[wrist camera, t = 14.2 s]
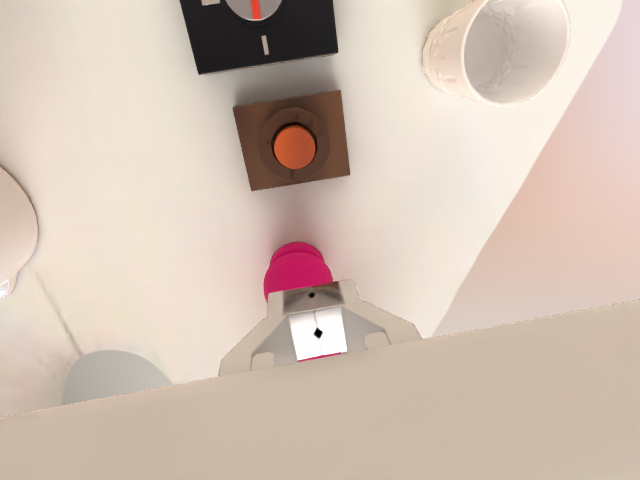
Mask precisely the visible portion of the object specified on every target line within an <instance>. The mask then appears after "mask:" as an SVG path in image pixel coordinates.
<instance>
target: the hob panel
mask: <svg viewBox="0 0 640 480" xmlns="http://www.w3.org/2000/svg"><path fill="white" fill-rule="evenodd" d="M180 3H181V7H182V11H183V15H184V19H185V23H186V27H187V31H188V35H189V39H190V43H191V47H192V51H193V55H194V59H195V63H196V67H197V71H198V74H199V75H209V74H215V73H222V72H228V71H234V70H241V69H247V68H253V67H260V66H266V65H273V64H279V63H285V62H292V61H298V60H305V59H311V58H317V57H324V56H330V55H335V54H337V53H338V44H337V35H336V26H335V17H334V8H333V0H284V3H283V7H282V10H281V12H280V14H279V15H278V17H277V18H276V19H275V20H274V21H273V22H271V23H270V24H268V25H265V26H252V25H249V24H246V23H245V22H243V21H242V20H241V19H239V18H238V17H237V15H236V14H235V13H234V12H233V10H232V9H231V8H230V7H229V5H228V4H227V2H226V0H180Z"/></svg>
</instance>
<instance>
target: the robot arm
mask: <svg viewBox="0 0 640 480" xmlns="http://www.w3.org/2000/svg"><path fill="white" fill-rule="evenodd" d="M37 240H38V223H37V218H36V215H35V212H34V209H33V207H32V204H31V202H30V200H29V199H28V197H27V195H26V194H25V192H24V191H23V189H22V188H21V187H20V186H19V184H18V183H17V182H16V181H15V180H14V179H13V178H12V177H11V176H10V175H9V174H8V173H7V172H6V171H5V170H4V169H2V168H1V167H0V298H3V297H5V296H7V295H9V294H10V293H11V292H12V291H13V289H14V287H15V283H16V278H17V273H18V272H19V270H20V269H21V268H22V267H23V265H24V264H25V263H26V262H27V261H28V260H29V259H30V257H31V256H32V254H33V252H34V250H35V248H36V244H37ZM346 351H347V353H345V354H340V355H334V356H329V357H323V358H318V359H312V360H307V361H302V362H298V360H302V359H307V358H311V357H316V356H321V355H327V354H333V353H340V352H346ZM0 480H640V299H639V300H633V301H628V302H622V303H617V304H612V305H606V306H601V307H595V308H590V309H584V310H579V311H574V312H568V313H563V314H557V315H552V316H546V317H541V318H536V319H530V320H525V321H519V322H514V323H508V324H503V325H497V326H492V327H486V328H481V329H476V330H470V331H465V332H459V333H454V334H449V335H443V336H438V337H432V338H427V339H422V338H421V336H420V334H419V332H418V331H417V329H416V327H415V325H414V324H412V323H410V322H408V321H406V320H403V319H401V318H399V317H397V316H395V315H393V314H391V313H389V312H387V311H385V310H382V309H380V308H378V307H376V306H374V305H372V304H370V303H368V302H366V301H362V302H361V300H360V298H359V295H358V292H357V290H356V287H355V284H354V282H353V279H346V280H342V281H336V282H331V283H326V284H321V285H316V286H310V287H304V288H297V289H291V290H285V291H278V292H273V293H269V295H268V307H267V319H263V320H262V321H261V322H260V323H259V324H258V325H257V326H256V327H255V328H254V329H252V330H251V331H250V332H249V333H248V334H247V335H246V336H245V337H244V338H243V339H242V340H241V341H240V342H239V343H238V344H237V345H236V346H235V347H234V348H233V349H232V350H231V351H230V352H229V353H228V354H227V355H226V356H225V357H224V358H223V359H222V360H221V365H220V369H219V374H218V377H214V378H209V379H203V380H198V381H193V382H187V383H182V384H176V385H171V386H166V387H160V388H155V389H149V390H144V391H139V392H133V393H128V394H122V395H117V396H112V397H106V398H101V399H95V400H90V401H84V402H79V403H73V404H68V405H62V406H57V407H51V408H46V409H40V410H35V411H29V412H24V413H19V414H13V415H8V416H2V417H0Z"/></svg>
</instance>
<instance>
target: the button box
mask: <svg viewBox="0 0 640 480" xmlns="http://www.w3.org/2000/svg"><path fill="white" fill-rule="evenodd" d="M233 112H234V116H235V121H236V125H237V130H238V134H239V138H240V143H241V147H242V152H243V156H244V161H245V165H246V169H247V174H248V178H249V183H250V187H251V191H256V190H262V189H268V188H274V187H281V186H287V185H293V184H299V183H305V182H311V181H317V180H324V179H330V178H336V177H342V176H348V175H350V168H349V160H348V151H347V142H346V133H345V124H344V115H343V106H342V97H341V90H333V91H326V92H320V93H314V94H307V95H301V96H295V97H288V98H282V99H276V100H269V101H263V102H257V103H251V104H244V105H238V106H234V107H233ZM291 125H297V126H301V127H303V128H305V129H306V130H308V131H309V133H310V134H311V136H312V138H313V140H314V143H315V154H314V157H313V159H312V160H311V162H310V163H309V164H308V165H306V166H305V167H302V168H299V169H291V168H288V167H285V166H284V165H282V164H281V163H280V162H279V161H278V159H277V157H276V155H275V151H274V145H275V140H276V137H277V135H278V133H279V132H280V131H281V130H282V129H283V128H285V127H287V126H291Z"/></svg>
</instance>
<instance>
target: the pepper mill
mask: <svg viewBox="0 0 640 480" xmlns="http://www.w3.org/2000/svg"><path fill="white" fill-rule="evenodd" d="M331 282H333V278H332V275H331V272H330V270H329V268H328V267H327V265H326V264H325V263H324V259H323V257H322V255H321V253H320V252H319V251H318V250H317V249H316V248H315V247H313V246H311V245H309V244H307V243H302V242H294V243H289V244H286V245H284V246H282V247H281V248H279V249H278V250H277V251H276V252H275V254H274V255H273V257H272V259H271V262H270V267H269V269H268V270H267V272H266V275H265V278H264V295H265V299H266V301H267V304H268V295H269V293H273V292H278V291H285V290H291V289H297V288H304V287H310V286H316V285H321V284H326V283H331ZM340 354H342V353H341V352H340V353H333V354H327V355H321V356H316V357H311V358H307V359H302V360H298V362H302V361H307V360H312V359H318V358H323V357H329V356H334V355H340Z"/></svg>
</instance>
